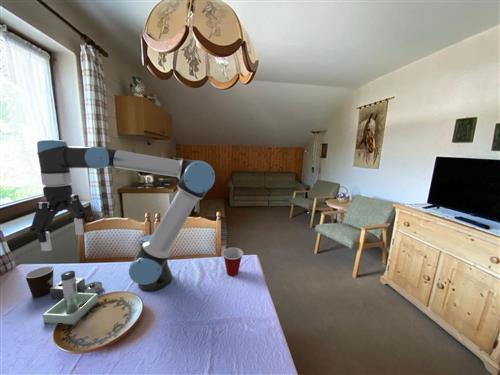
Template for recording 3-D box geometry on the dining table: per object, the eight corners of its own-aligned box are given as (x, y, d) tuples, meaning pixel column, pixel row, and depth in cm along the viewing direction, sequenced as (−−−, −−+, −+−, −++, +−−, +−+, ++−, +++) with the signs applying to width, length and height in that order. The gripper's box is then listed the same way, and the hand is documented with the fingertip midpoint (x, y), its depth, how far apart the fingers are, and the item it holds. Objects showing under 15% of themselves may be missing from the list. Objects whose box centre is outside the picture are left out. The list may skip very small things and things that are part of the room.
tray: (98, 301, 87) (97, 293, 87) (73, 324, 76) (72, 315, 75) (72, 300, 88) (71, 292, 87) (43, 323, 76) (42, 314, 75)
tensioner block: (85, 287, 96) (84, 277, 95) (70, 300, 88) (68, 289, 87) (68, 287, 96) (66, 277, 95) (51, 299, 88) (49, 288, 87)
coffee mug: (39, 301, 86) (35, 279, 85) (23, 297, 88) (19, 276, 86) (68, 284, 98) (65, 264, 96) (53, 281, 99) (50, 262, 98)
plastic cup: (219, 278, 106) (219, 256, 104) (225, 266, 116) (225, 246, 114) (240, 280, 104) (241, 258, 102) (244, 268, 115) (244, 248, 113)
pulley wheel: (106, 286, 97) (105, 279, 96) (94, 296, 90) (93, 289, 89) (91, 285, 97) (90, 279, 96) (78, 296, 90) (77, 289, 90)
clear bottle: (81, 306, 84) (77, 270, 81) (73, 314, 80) (68, 277, 77) (72, 306, 84) (67, 270, 81) (63, 313, 80) (57, 276, 77)
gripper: (76, 179, 86) (82, 229, 89) (5, 191, 61) (17, 258, 65) (94, 180, 86) (99, 229, 89) (30, 191, 61) (41, 259, 65)
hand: (64, 241), depth 77 cm, fingers open, 13 cm apart
